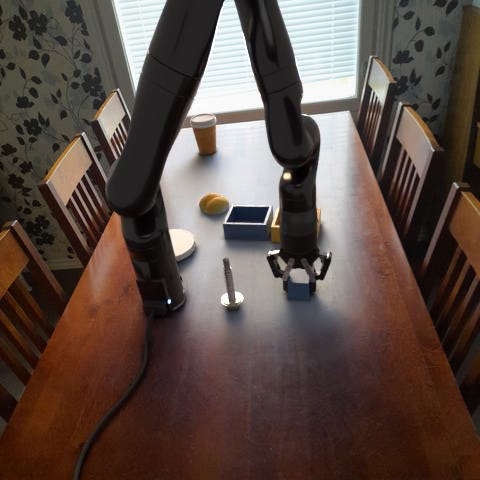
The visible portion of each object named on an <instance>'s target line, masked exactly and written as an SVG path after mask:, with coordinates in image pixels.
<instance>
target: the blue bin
mask: <svg viewBox="0 0 480 480" xmlns="http://www.w3.org/2000/svg"><path fill="white" fill-rule="evenodd" d="M228 209H229V210H228V212H227V213H226V216H225V218H224V219H223V222H222V230H223V235H224V236H223V237H224V240H225V239H227V240H229V239H230V240H257V241H258V240H259V241H268V240H269V236H270V234H271V225H272V222H273V219H274V206H273V205H271V204H270V205H269V204H268V205H267V204H266V205H265V204H262V205H261V204H231V205H230V206H229V208H228Z"/></svg>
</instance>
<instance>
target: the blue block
mask: <svg viewBox="0 0 480 480" xmlns="http://www.w3.org/2000/svg"><path fill="white" fill-rule="evenodd" d="M309 282H310V279H309V276H308V275H307V273H306V271H305V270H297V269H291V272H290V274H289V279H288V293H287V296H288V297H287V298H288V299H291V300H305V301H308V300H310V296H311V295H309Z"/></svg>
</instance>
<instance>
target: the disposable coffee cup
mask: <svg viewBox="0 0 480 480" xmlns="http://www.w3.org/2000/svg"><path fill="white" fill-rule="evenodd" d="M217 120H218V119H217V118H216V115H215V114H214V113H209V112H206V113H205V112H204V113H198V114H195V115H194V116H192V117H191V118H190V122H189V125H190V126H191V128H192V132H193V135H194V138H195V141H196V146H197V148H198V152H199V154H200V155H212V154H214V153H216V152H217Z"/></svg>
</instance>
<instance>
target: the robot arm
mask: <svg viewBox="0 0 480 480" xmlns="http://www.w3.org/2000/svg"><path fill="white" fill-rule="evenodd" d="M225 2H226V0H166V1H165V3H164V6H163V8H162V11H161V12H160V16H159V19H158V21H157V23H156V27H155V29H154V32H153V35H152V37H151V40H150V42H149V46H148V49H147V51H146V55H145V58H144V61H143V64H142V67H141V71H140V73H139V78H138V82H137V86H136V89H135V90H136V91H135V95H134V98H133V104H132V109H131V115H130V120H129V127H128V132H127V136H126V139H125V142H124V144H123V148H122V151H121V152H120V155H119V157H117V158H116V159H115V160H114V161H113V163H112V164H111V165H110V168H109V171H108V174H107V178H106V182H105V190H104V191H105V198H106V200H107V203H108V205H109V207H110V209H112V210H113V212H114V213H115V214H116V215H118V216H119V217H120V224H121V225H120V226H121V233H122V237H123V240H124V243H125V246H126V249H127V253H128V256H129V259H130V263H131V265H132V268H133V271H134V275H135V277H136V279H135V283H136V286H137V289H138V292H139V295H140V299H141V302H142V304H141V307H142V310H143V313H144V315H148V320H147V323H146V327H145V333H144V343H143V361H142V365H141V368H140V370H139V372H138V374H137V376H136V377H135V379H134V381H133V382H132V383H131V385H130V386H129V387H128V388H127V390H126V391H125V393H124V394H123V395H122V397H121V398H120V399H119V400H118V401H117V402H116V403H115V404H114V405H113V406H112V408H110V409H109V411H107V412H106V413H105V415H104V416H103V417H102V418H101V420H100V421H99V422H98V424H97V425H96V427H95V428H94V429H93V431H92V432H91V434H90V435H89V437H88V438H87V440H86V442H85V444H84V445H83V448H82V450H81V452H80V454H79V456H78V460H77V462H76V465H75V468H74V472H73V476H72V480H79V478H80V477H79V476H80V471H81V468H82V466H83V462H84V460H85V457H86V454H87V452H88V450H89V448H90V446H91V444H92V442H93V441H94V439H95V438H96V436H97V435H98V434H99V432H100V430H101V429H102V428H103V427H104V425H105V423H106V422H107V421H108V420H109V419H110V417H112V415H114V413H115V412H116V411H117V410H118V409H119V408H120V407H121V406H122V405H123V403H124V402H125V401H126V400H127V398H128V397H129V396H130V395H131V393H132V392H133V391H134V389H135V388H136V386H137V385H138V384H139V382H140V380H141V379H142V377H143V375H144V373H145V371H146V368H147V365H148V362H149V339H150V338H149V337H150V331H151V326H152V323H153V319H154V317H155V316H163V317H164V316H172V315H173V314H174V313H175V312H176V311H178V310H179V309H181V308H183V306H184V305H185V303H186V300H187V296H186V292H185V290H184V285H183V283H184V282H183V277H182V276H181V274H180V269H179V266H178V261H176V257H175V253H174V248H173V244H172V240H171V236H170V232H169V230H170V229H169V221H168V215H167V209H166V205H165V200H164V196H163V192H162V187H161V180H162V176H163V173H164V170H165V166H166V163H167V160H168V158H169V155H170V153H171V150H172V148H173V146H174V144H175V142H176V141H177V139H178V136H179V134H180V133H181V131H182V129H183V126H184V124H185V122H186V120H187V118H188V115H189V113H190V111H191V109H192V106H193V104H194V102H195V100H196V98H197V95H198V92H199V90H200V87H201V85H202V82H203V80H204V77H205V75H206V71H207V68H208V65H209V62H210V58H211V55H212V51H213V48H214V44H215V39H216V35H217V31H218V25H219V22H220V19H221V15H222V10H223V8H224V6H225ZM233 3H234V5H235V8H236V13H237V15H238V19H239V24H240V27H241V33H242V36H243V41H244V45H245V50H246V54H247V57H248V61H249V65H250V68H251V72H252V75H253V79H254V81H255V85H256V89H257V91H258V95H259V97H260V100H261V102H262V107H263V117H264V125H265V132H266V139H267V143H268V147H269V151H270V153H271V155H272V157H273V159H274V160H275V162H276V163H277V164H278V165H279V166H281V167H282V172H281V175H280V178H279V181H278V203H279V230H280V242H279V245H280V247H279V249H278V250H273V249H269V250H268V251H267V254H266V261H267V264H268V265H269V268H270V270H271V273H272V275H273V277H274V278H275V279H279V278H280V279H281V280H282V289H283V291H284V292H285V294H288V279H289V275H290V272H291V270H297V269H298V270H299V269H300V270H304V271H306V273H307V275H308V276H309V279H310V282H309V295H310V296H313V295H314V294H315V293H316V292H317V281H324V280H325V279H326V275H327V273H328V271H329V268H330V265H331V262H332V259H333V252H332V251H327V252H323V251H320V249H319V246H318V241H317V224H318V215H317V208H318V207H317V176H318V175H317V173H318V168H319V161H320V152H321V141H322V140H321V139H322V138H321V131H320V128H319V125H318V123H317V121H316V120H315V119H314V118H313V117H311V116H310V115H308V114H306V113H305V114H304V113H303V111H302V100H303V96H304V87H303V81H302V78H301V74H300V70H299V66H298V62H297V59H296V56H295V52H294V47H293V44H292V41H291V38H290V35H289V31H288V30H287V27H286V26H287V25H286V23H285V20H284V17H283V14H282V11H281V8H280V5H279V1H278V0H233ZM279 259H281V260H282V261H283V262H284V263H285V267H284V269H282V268H281V266H280V265H281V264H280V263H279ZM318 259H319V260H320V263H321V267H320V269H319V270H318V271H317V269H316V266H315V262H316V261H317V260H318Z"/></svg>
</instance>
